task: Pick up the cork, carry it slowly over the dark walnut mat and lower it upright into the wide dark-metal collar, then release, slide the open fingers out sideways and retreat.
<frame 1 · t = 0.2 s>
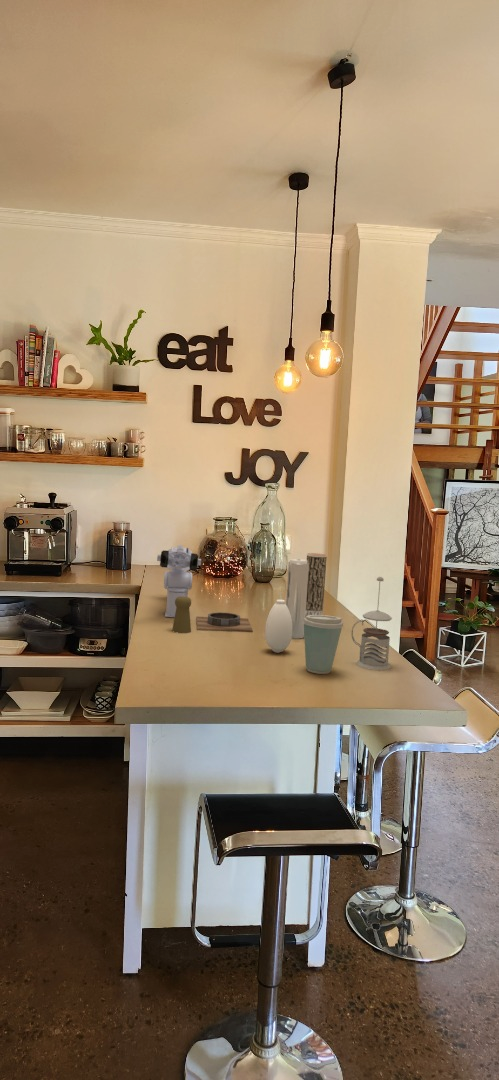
hand: (179, 562, 220), 21 cm above the counter, tool horizontal, fingers open, 7 cm apart
disposable coffee cup: (319, 671, 183), on the counter
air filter: (293, 637, 220), on the counter
walnut mat: (223, 624, 231), on the counter
collar: (223, 619, 231), on the walnut mat, point 1 cm above the counter
grey patterned cylinder: (311, 626, 238), on the counter
white vase: (277, 652, 200), on the counter
french press: (370, 665, 192), on the counter
cork: (181, 631, 219), on the counter
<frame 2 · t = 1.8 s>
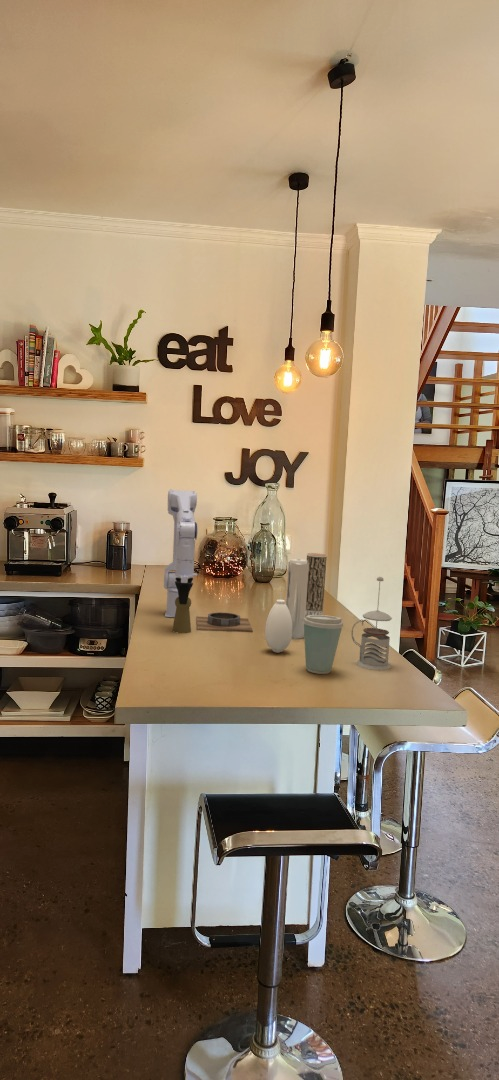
hand: (183, 601, 218), 9 cm above the counter, tool pointing down, fingers open, 7 cm apart
nothing on the counter moved.
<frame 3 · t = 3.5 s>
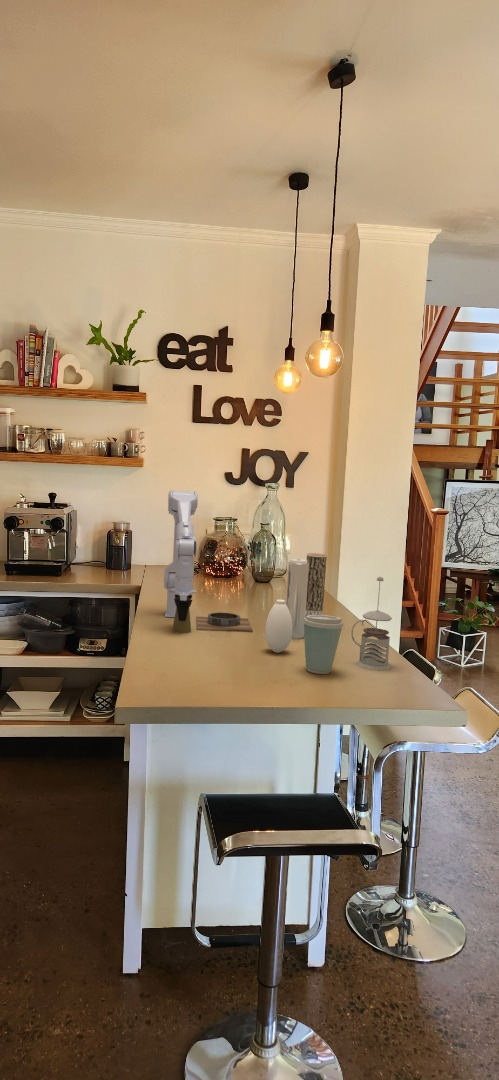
hand: (182, 618, 218), 4 cm above the counter, tool pointing down, fingers closed on cork, 5 cm apart
cork: (181, 631, 219), on the counter, touching gripper
everything else where it was.
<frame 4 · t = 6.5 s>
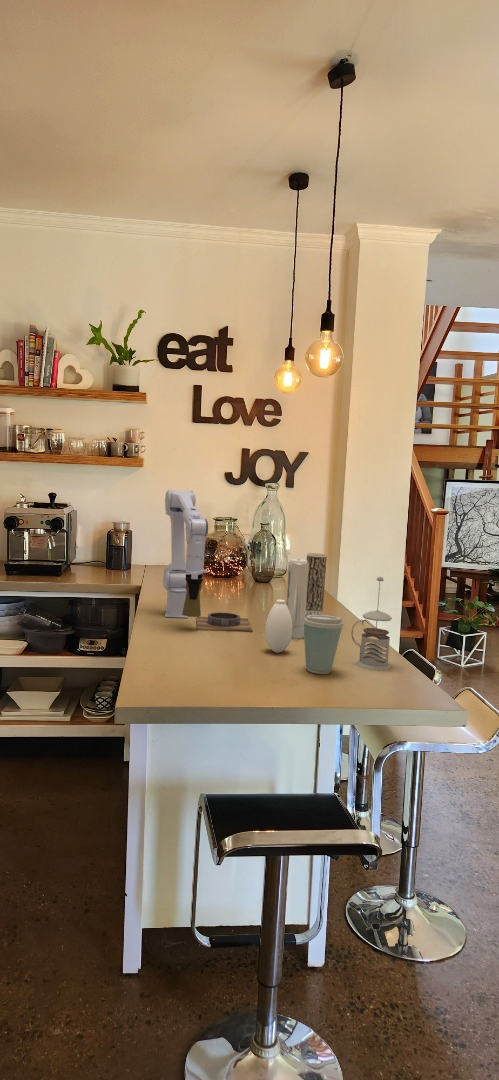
hand: (193, 597, 221), 10 cm above the counter, tool pointing down, fingers closed on cork, 5 cm apart
cork: (191, 615, 221), point 5 cm above the counter, touching gripper
everything else where it was.
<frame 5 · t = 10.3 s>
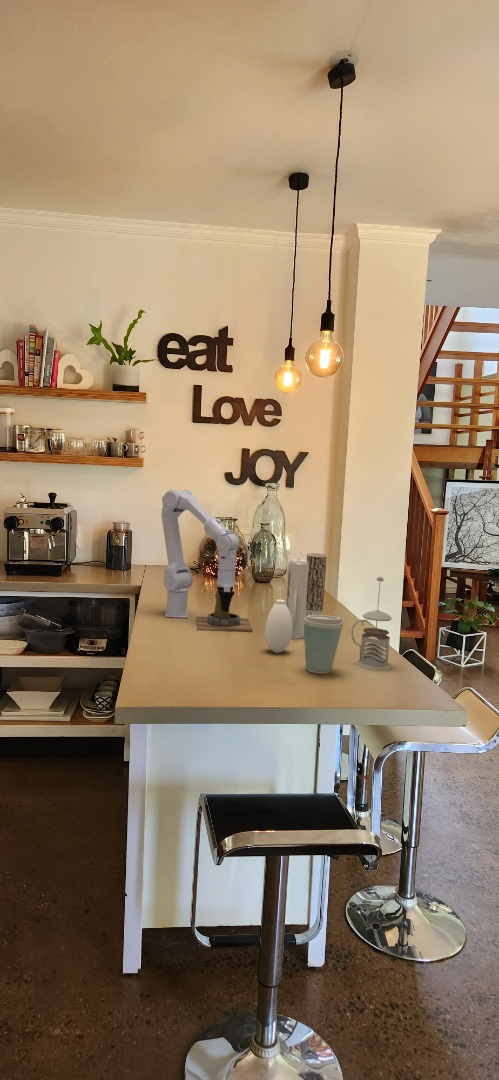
hand: (224, 609, 230), 5 cm above the counter, tool pointing down, fingers closed on cork, 5 cm apart
cork: (221, 623, 231), resting on walnut mat, touching gripper
everything else where it was.
when the fingers open (5 cm above the counter, at t = 10.6 s): cork stays where it is, resting on walnut mat.
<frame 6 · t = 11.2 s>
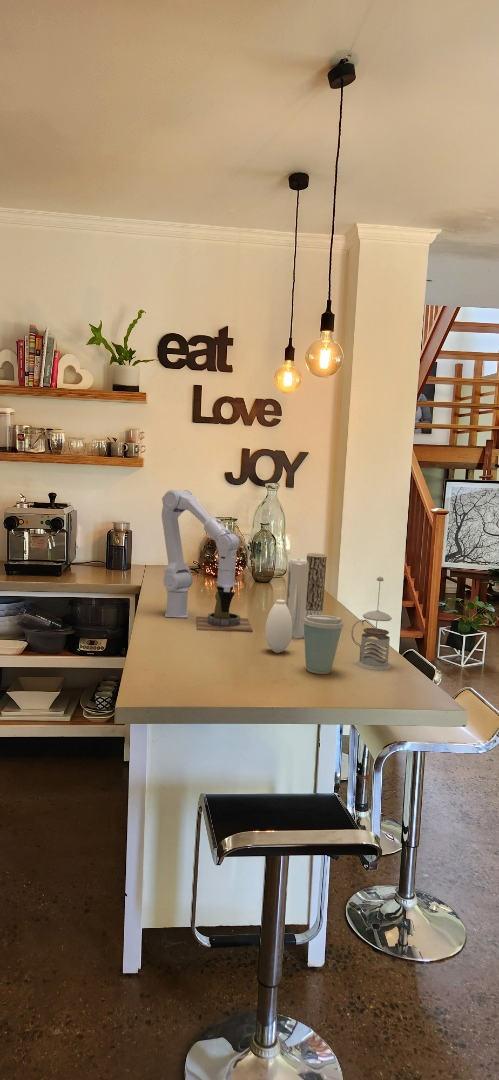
hand: (224, 609, 231), 5 cm above the counter, tool pointing down, fingers open, 7 cm apart
cork: (221, 623, 231), resting on walnut mat
everything else where it was.
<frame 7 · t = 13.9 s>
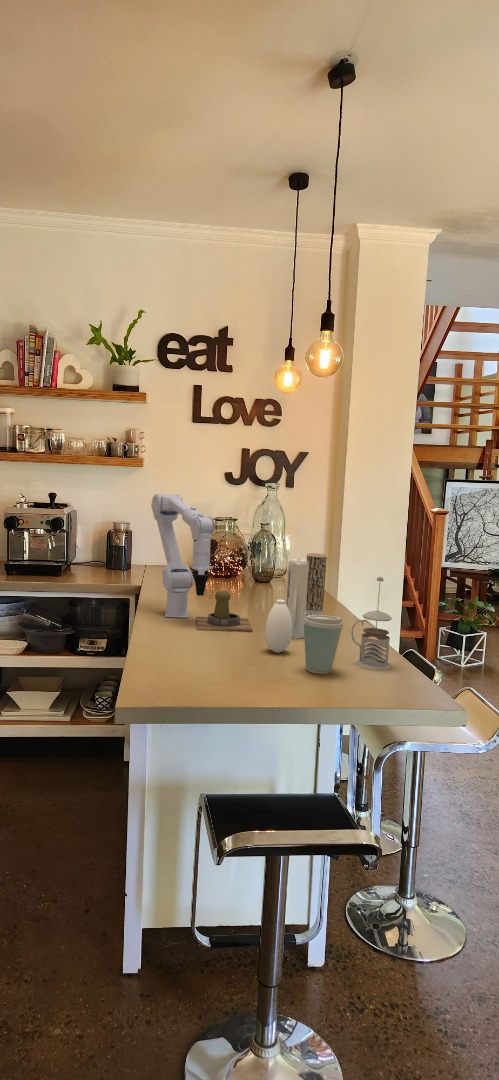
hand: (199, 593, 229), 10 cm above the counter, tool pointing down, fingers open, 7 cm apart
nothing on the counter moved.
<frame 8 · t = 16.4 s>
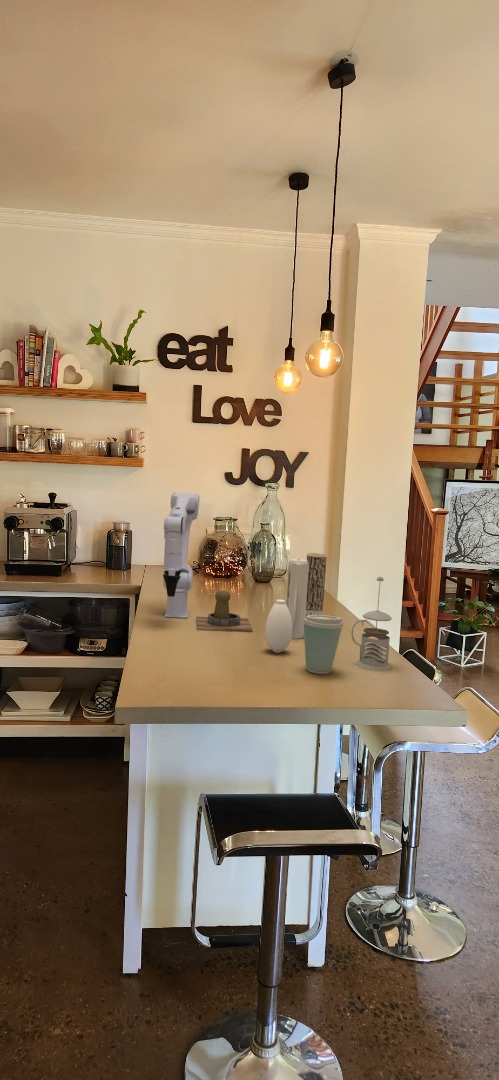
hand: (171, 594, 224), 10 cm above the counter, tool pointing down, fingers open, 7 cm apart
nothing on the counter moved.
at the end: cork 0.9 cm off-centre on the collar, point 0.4 cm above the collar's base; cork tilted 0°; the gripper is holding nothing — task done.
